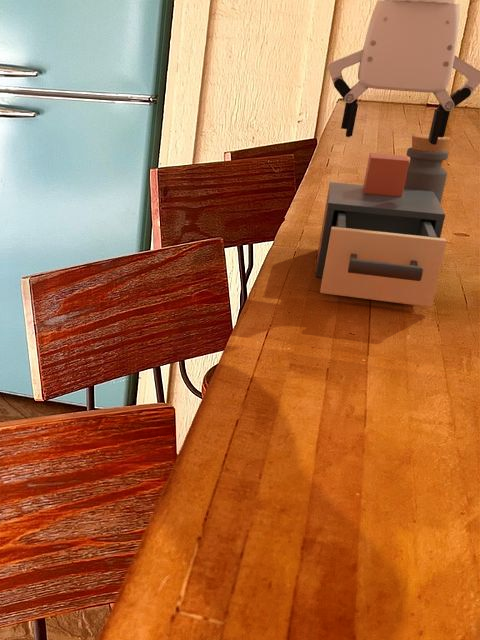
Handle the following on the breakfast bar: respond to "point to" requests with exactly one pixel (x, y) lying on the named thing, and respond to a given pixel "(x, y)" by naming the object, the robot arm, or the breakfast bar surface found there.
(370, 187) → the block
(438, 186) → the bottle
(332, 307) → the breakfast bar surface
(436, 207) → the cabinet
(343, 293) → the drawer
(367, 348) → the breakfast bar surface
